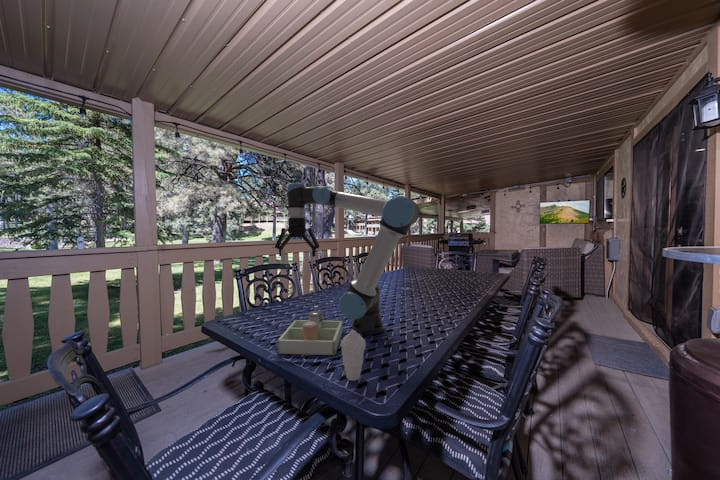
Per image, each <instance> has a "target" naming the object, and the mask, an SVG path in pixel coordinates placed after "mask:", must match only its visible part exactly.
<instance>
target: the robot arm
mask: <svg viewBox="0 0 720 480" xmlns="http://www.w3.org/2000/svg"><path fill="white" fill-rule="evenodd" d="M286 194H287V203H288V206H287V207H288V208H287V211H288V212H287V217H289V218H288V220H287V222H288V228H285V227H282V228H281V232H280V234H279V237H278V239H277V241H276V244H275V245H274V248H275V249H278V255H279V257H281V258H280V260H281V261H280V262H281V263H280V264H281V265H284V264H285V263H286V257H285V255H286V254H285V253H286V251H285V250H286V249H285V246H286V245H287V244H288V243H289V241H290V240H291V239H295V238H297V239H300V238H302V239H303V240H304V241H305V242H306V244H307V245H308V246H309V247H310V252H309V253H310V255H309V256H310V265H314V260H315V259H314V257H316V254H317V253H316V250H317V249H319V248H320V244H319V243H318V240H317V238H316V237H315V234H314V232H313V231H314V230H313V227H308V228H307V227H306V218H305V217H306V205H314V204H315V205H320V206H321V205H322V206H329V207H334V208H339V209H342V210H343V209H344V210H348V211H354V212H358V213H363V214H368V215H373V216H377V217H381V219H380V221H379V222H378V223H379V227H380V229H379V232H378V233H377V236H376V238H375V240H374V243H373V244H372V246H371V249H369V253H368V254H367V256H366V259H365V261H364V263H363V266H361V267H362V268H361V269H360V271H359V274H358V276H356V277H357V278H356V279H352V280H351V282H350V284H349V286H348V287H347V290H346V292H344V293H343V294H342V296H341V297H340V298H339V301H338V304H339V306H338V307H339V309H340V312H341V313H342V314H343V316H345V317H346V318H347V319H350V320H351V321H352V322H351V330H355V331H356V332H357V333H361V335H364V336H365V335H366V336H371V335H377V334H380V333H381V332H383V331H384V322H383V320H382V316H381V312H380V309H381V307H380V306H381V305H380V301H381V300H380V299H381V297H380V293H381V288H380V286H381V285H380V282H379V281H380V279H381V278H382V275H383V274H384V271H385V269H386V267H387V266H388V263H389V262H390V259H391V258H392V255H393V254H394V251H395V249H396V247H397V245H398V243H399V242H400V240H401V238H403V237H406V236H407V234H408V232H409V230H410V229H411V226H412V225H414V224H415V223H416V222H417V221H418V219H419V217H420V208H419V206H418V204H417V203H416V202H415V201H414V200H413V199H410V198H408V197H406V196H403V195H401V196H400V195H399V196H393V197H391V198H389V199H388V200H387V199H381V198H375V197H369V196H364V195H360V194H359V195H358V194H353V193H348V192H341V191H337V190H332V189H329V188H328V187H327V186H324V185H322V186H321V185H317V186H305V184H304V183H302V182H289V183H288V185H287V193H286ZM286 233H288V235H287V237H286V238H285V235H286ZM306 233H307V234H308V235H309V237H310V238H308V236H307V235H306ZM284 238H285V240H284ZM310 239H311V240H312V241H311V240H310ZM282 241H283V242H282Z"/></svg>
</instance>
